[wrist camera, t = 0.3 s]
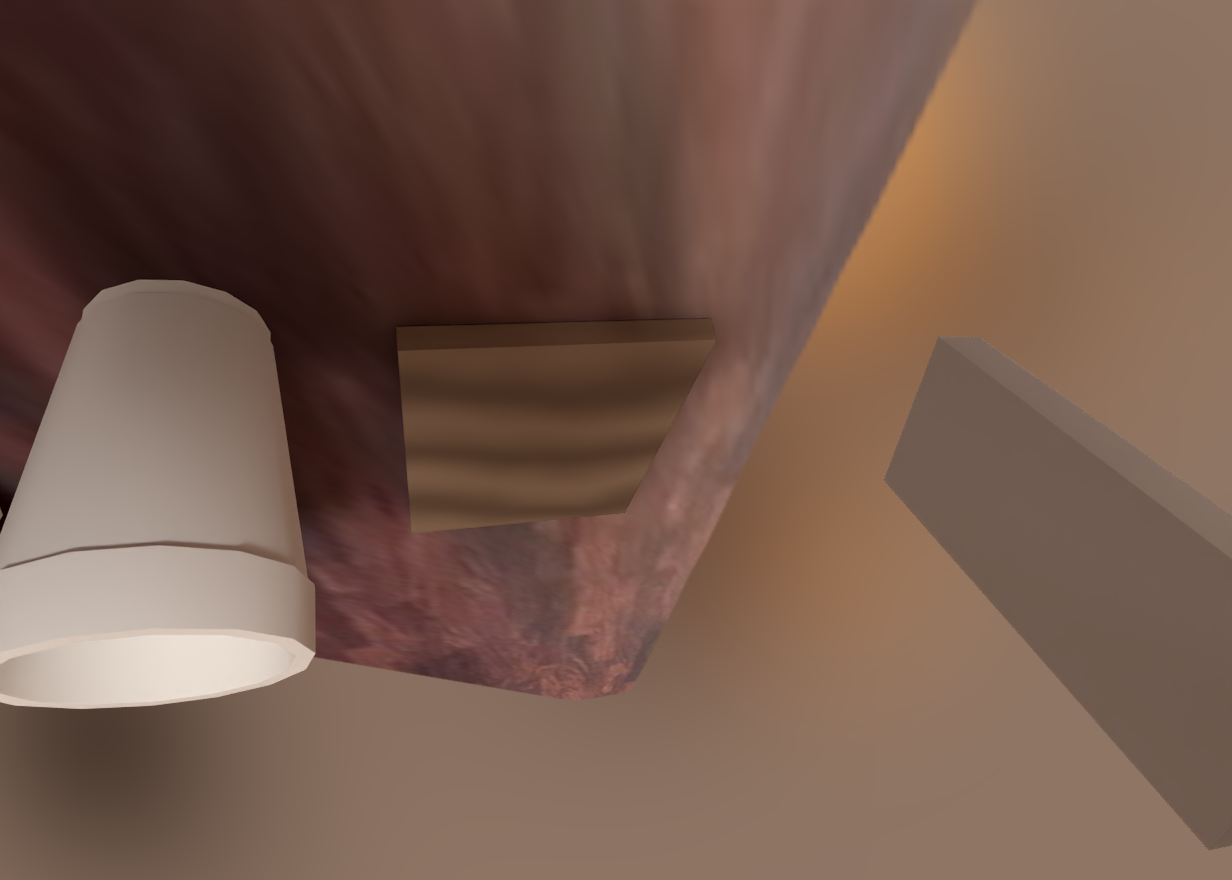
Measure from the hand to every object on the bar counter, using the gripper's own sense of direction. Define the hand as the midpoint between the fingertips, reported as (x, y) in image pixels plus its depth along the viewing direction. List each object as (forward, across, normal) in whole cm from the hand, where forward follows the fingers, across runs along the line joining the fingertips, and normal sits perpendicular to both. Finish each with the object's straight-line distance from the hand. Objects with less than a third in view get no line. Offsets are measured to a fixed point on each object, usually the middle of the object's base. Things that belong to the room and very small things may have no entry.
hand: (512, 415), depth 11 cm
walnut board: (+26, +5, -17) cm, 31 cm away
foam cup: (+21, -10, -8) cm, 25 cm away
